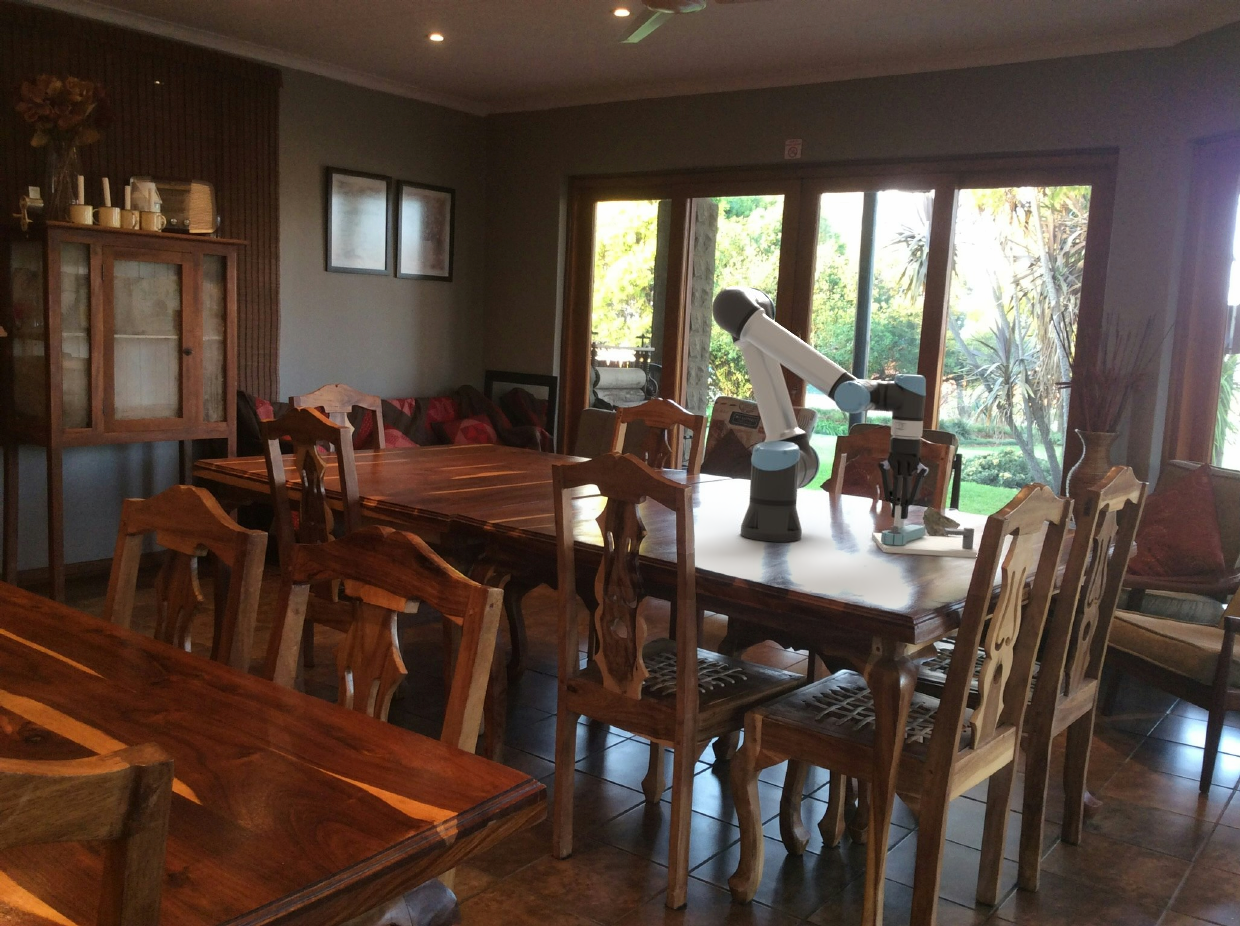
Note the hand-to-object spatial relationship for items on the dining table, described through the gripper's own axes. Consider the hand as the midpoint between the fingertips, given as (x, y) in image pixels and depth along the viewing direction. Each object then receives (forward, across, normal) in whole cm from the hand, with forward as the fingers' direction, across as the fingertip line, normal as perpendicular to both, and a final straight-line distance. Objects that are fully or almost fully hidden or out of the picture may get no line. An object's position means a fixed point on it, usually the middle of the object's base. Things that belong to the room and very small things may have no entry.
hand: (898, 531), depth 266 cm
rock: (+3, +4, +17) cm, 18 cm away
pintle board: (+3, +7, 0) cm, 7 cm away
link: (+1, +2, -2) cm, 4 cm away
